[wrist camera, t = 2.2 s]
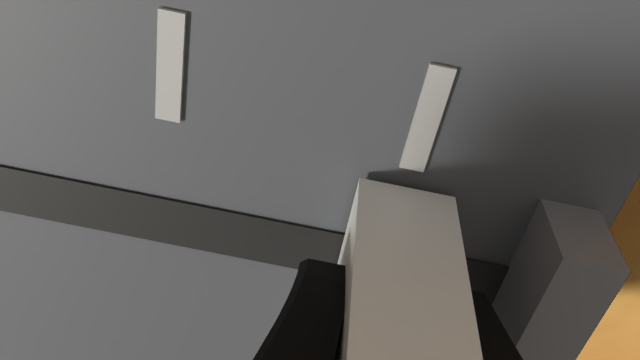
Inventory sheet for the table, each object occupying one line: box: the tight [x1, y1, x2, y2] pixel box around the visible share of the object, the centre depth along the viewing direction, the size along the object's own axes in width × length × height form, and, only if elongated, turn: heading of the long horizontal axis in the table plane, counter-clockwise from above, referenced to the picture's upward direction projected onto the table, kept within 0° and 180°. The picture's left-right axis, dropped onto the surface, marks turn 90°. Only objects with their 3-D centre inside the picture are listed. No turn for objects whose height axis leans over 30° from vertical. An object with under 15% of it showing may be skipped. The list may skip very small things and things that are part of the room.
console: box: [0, 0, 640, 360], centre depth 11 cm, size 16×16×4 cm
